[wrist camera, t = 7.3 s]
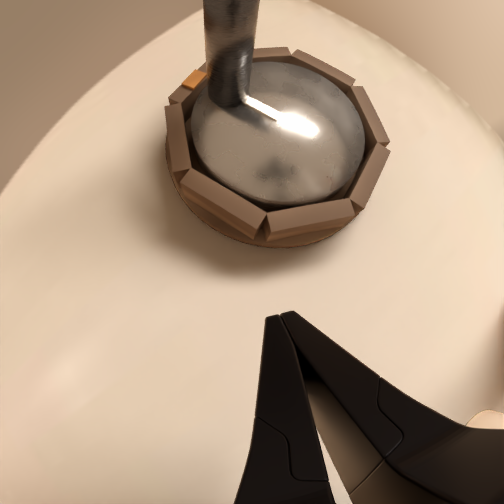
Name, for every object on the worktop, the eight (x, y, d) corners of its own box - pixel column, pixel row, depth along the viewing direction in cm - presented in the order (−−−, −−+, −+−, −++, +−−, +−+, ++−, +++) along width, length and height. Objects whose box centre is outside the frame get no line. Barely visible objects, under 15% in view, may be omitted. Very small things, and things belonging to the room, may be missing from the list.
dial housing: (399, 224, 23) (424, 209, 19) (186, 270, 21) (177, 261, 17) (332, 68, 26) (343, 42, 22) (159, 86, 24) (152, 58, 20)
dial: (309, 246, 20) (435, 134, 7) (159, 154, 21) (103, -6, 7) (375, 127, 23) (460, 10, 9) (251, 59, 23) (268, -75, 10)
